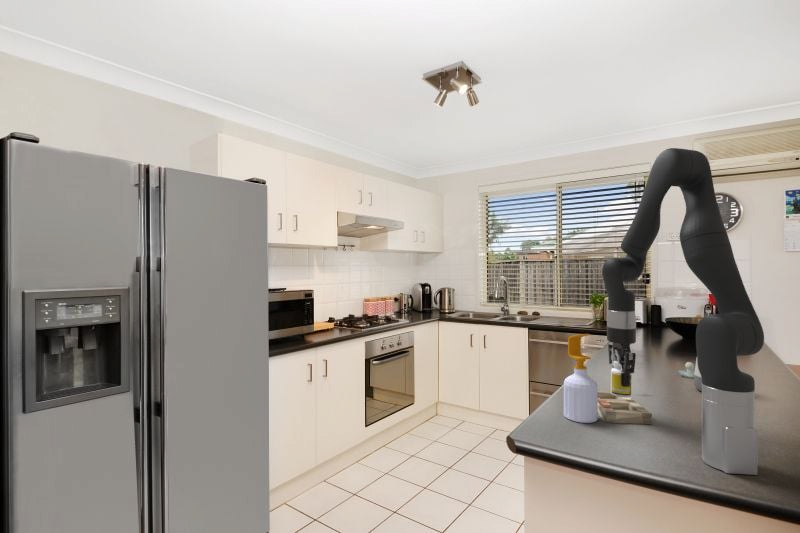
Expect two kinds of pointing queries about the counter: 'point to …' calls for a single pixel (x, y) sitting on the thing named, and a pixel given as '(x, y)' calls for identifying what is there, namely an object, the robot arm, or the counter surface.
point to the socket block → (621, 409)
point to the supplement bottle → (618, 383)
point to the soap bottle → (580, 387)
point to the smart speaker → (697, 378)
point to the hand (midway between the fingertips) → (620, 383)
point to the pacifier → (688, 370)
